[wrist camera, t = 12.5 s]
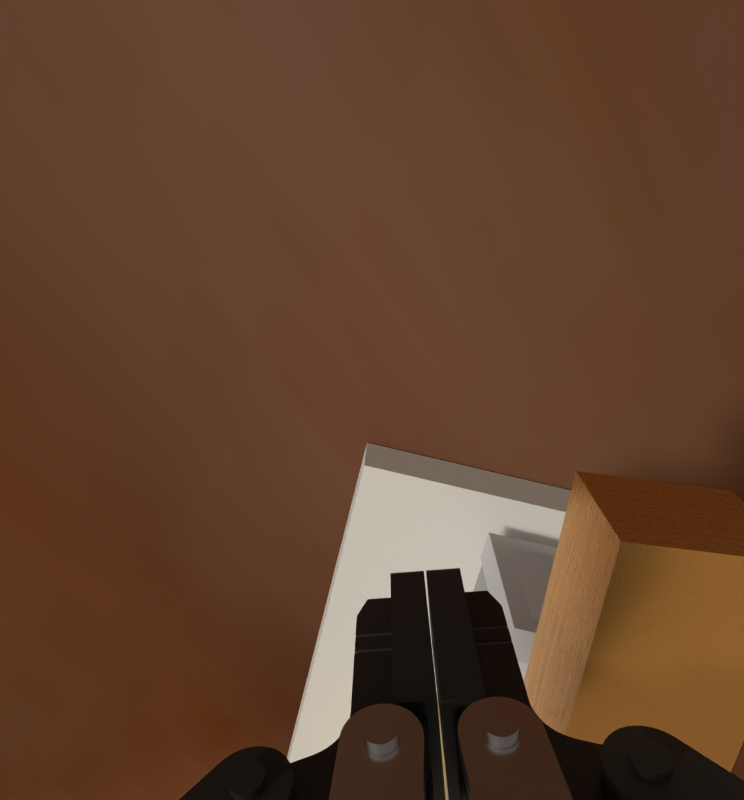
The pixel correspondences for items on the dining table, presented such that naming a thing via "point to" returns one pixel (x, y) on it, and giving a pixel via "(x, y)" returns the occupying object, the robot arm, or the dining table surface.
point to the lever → (645, 616)
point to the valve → (428, 563)
